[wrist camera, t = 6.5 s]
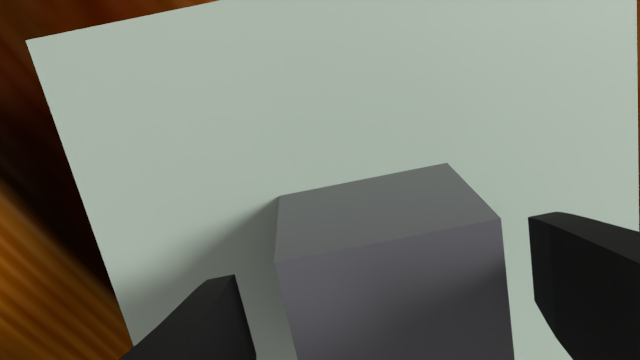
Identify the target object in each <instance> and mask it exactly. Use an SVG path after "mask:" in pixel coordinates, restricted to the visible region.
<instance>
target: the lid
mask: <svg viewBox="0 0 640 360" xmlns="http://www.w3.org/2000/svg"><path fill="white" fill-rule="evenodd" d="M26 43H27V46H28V49H29V51H30V54H31V57H32V60H33V63H34V66H35V68H36V71H37V74H38V77H39V80H40V82H41V85H42V88H43V91H44V94H45V97H46V99H47V102H48V105H49V108H50V111H51V114H52V116H53V119H54V122H55V125H56V128H57V131H58V133H59V136H60V139H61V142H62V145H63V148H64V150H65V153H66V156H67V159H68V162H69V164H70V167H71V170H72V173H73V176H74V179H75V181H76V184H77V187H78V190H79V193H80V196H81V198H82V201H83V204H84V207H85V210H86V213H87V215H88V218H89V221H90V224H91V227H92V230H93V232H94V235H95V238H96V241H97V244H98V246H99V249H100V252H101V255H102V258H103V261H104V263H105V266H106V269H107V272H108V275H109V278H110V280H111V283H112V286H113V289H114V292H115V295H116V297H117V300H118V303H119V306H120V309H121V312H122V314H123V317H124V320H125V323H126V326H127V329H128V331H129V334H130V337H131V340H132V343H133V345H134V346H135V345H136V344H138V343H139V342H140V341H141V340H142V339H143V338H144V337H146V336H147V335H148V334H149V333H150V332H151V331H152V330H154V329H155V328H156V327H157V326H158V325H159V324H160V323H161V322H162V321H163V320H164V319H165V318H166V317H167V316H168V315H169V314H170V313H171V312H172V311H174V310H175V309H176V308H177V307H178V306H179V305H180V304H181V303H182V302H183V301H184V300H185V299H186V298H187V297H188V296H189V295H190V294H191V293H192V292H193V291H194V290H195V289H196V288H197V287H198V286H200V285H201V284H202V283H203V282H204V281H206V280H207V279H212V278H218V277H223V276H228V275H233V274H235V277H236V281H237V284H238V288H239V292H240V295H241V299H242V303H243V306H244V310H245V314H246V318H247V321H248V325H249V329H250V332H251V336H252V340H253V343H254V347H255V351H256V360H573V359H572V358H571V357H570V355H569V354H568V353H567V352H566V350H565V349H564V348H563V346H562V345H561V344H560V342H559V341H558V340H557V339H556V337H555V335H554V334H553V332H552V330H551V329H550V327H549V326H548V324H547V322H546V321H545V319H544V317H543V315H542V313H541V312H540V310H539V308H538V306H537V305H536V303H535V301H534V290H533V277H532V264H531V252H530V239H529V227H528V217H531V216H536V215H541V214H546V213H551V212H564V213H570V214H574V215H578V216H583V217H587V218H590V219H594V220H598V221H601V222H605V223H609V224H612V225H616V226H620V227H623V228H627V229H631V230H634V231H638V232H639V181H638V91H637V1H636V0H220V1H216V2H211V3H206V4H201V5H196V6H191V7H186V8H182V9H177V10H172V11H167V12H162V13H157V14H152V15H147V16H143V17H138V18H133V19H128V20H123V21H118V22H113V23H108V24H104V25H99V26H94V27H89V28H84V29H79V30H74V31H70V32H65V33H60V34H55V35H50V36H45V37H40V38H35V39H31V40H26Z"/></svg>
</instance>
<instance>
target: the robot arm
mask: <svg viewBox="0 0 640 360" xmlns="http://www.w3.org/2000/svg"><path fill="white" fill-rule="evenodd" d="M528 227H529V239H530V252H531V264H532V277H533V290H534V301H535V303H536V305H537V306H538V308H539V310H540V312H541V313H542V315H543V317H544V319H545V321H546V322H547V324H548V326H549V327H550V329H551V330H552V332H553V334H554V335H555V337H556V339H557V340H558V341H559V342H560V344H561V345H562V346H563V348H564V349H565V350H566V352H567V353H568V354H569V355H570V357H571V358H572V359H573V360H640V232H638V231H634V230H631V229H627V228H623V227H620V226H616V225H612V224H609V223H605V222H601V221H598V220H594V219H590V218H587V217H583V216H578V215H574V214H570V213H564V212H551V213H546V214H541V215H536V216H531V217H528ZM119 360H256V351H255V347H254V343H253V340H252V336H251V332H250V329H249V325H248V321H247V318H246V314H245V310H244V306H243V303H242V299H241V295H240V292H239V288H238V284H237V281H236V277H235V274H233V275H228V276H223V277H218V278H212V279H207V280H206V281H204V282H203V283H202V284H201V285H200V286H198V287H197V288H196V289H195V290H194V291H193V292H192V293H191V294H190V295H189V296H188V297H187V298H186V299H185V300H184V301H183V302H182V303H181V304H180V305H179V306H178V307H177V308H176V309H175V310H174V311H172V312H171V313H170V314H169V315H168V316H167V317H166V318H165V319H164V320H163V321H162V322H161V323H160V324H159V325H158V326H157V327H156V328H155V329H154V330H152V331H151V332H150V333H149V334H148V335H147V336H146V337H144V338H143V339H142V340H141V341H140V342H139V343H138V344H136V345H135V346H134V347H133V348H132V349H131V350H130V351H128V352H127V353H126V354H125V355H124V356H123V357H121V358H120V359H119Z"/></svg>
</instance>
